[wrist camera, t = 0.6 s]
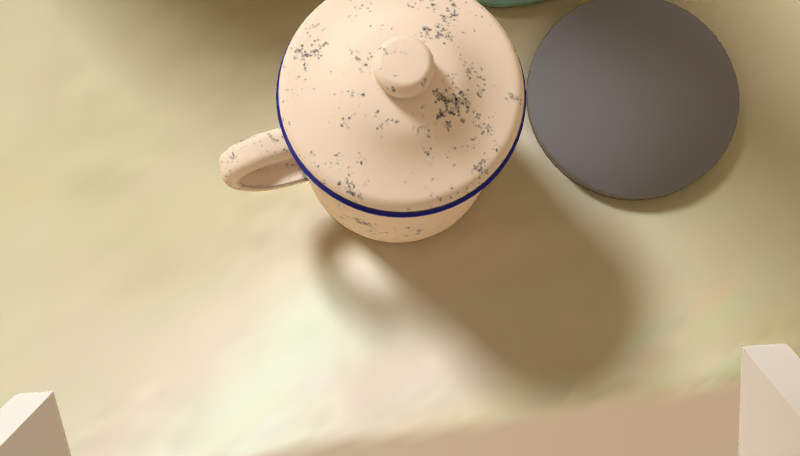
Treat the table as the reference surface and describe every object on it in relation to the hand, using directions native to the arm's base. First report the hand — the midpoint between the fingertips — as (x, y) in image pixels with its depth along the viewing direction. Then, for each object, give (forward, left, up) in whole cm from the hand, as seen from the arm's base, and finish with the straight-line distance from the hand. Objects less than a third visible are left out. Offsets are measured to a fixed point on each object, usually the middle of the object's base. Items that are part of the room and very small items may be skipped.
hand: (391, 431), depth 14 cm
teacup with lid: (-10, +3, -20) cm, 23 cm away
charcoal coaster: (-9, +16, -20) cm, 27 cm away
